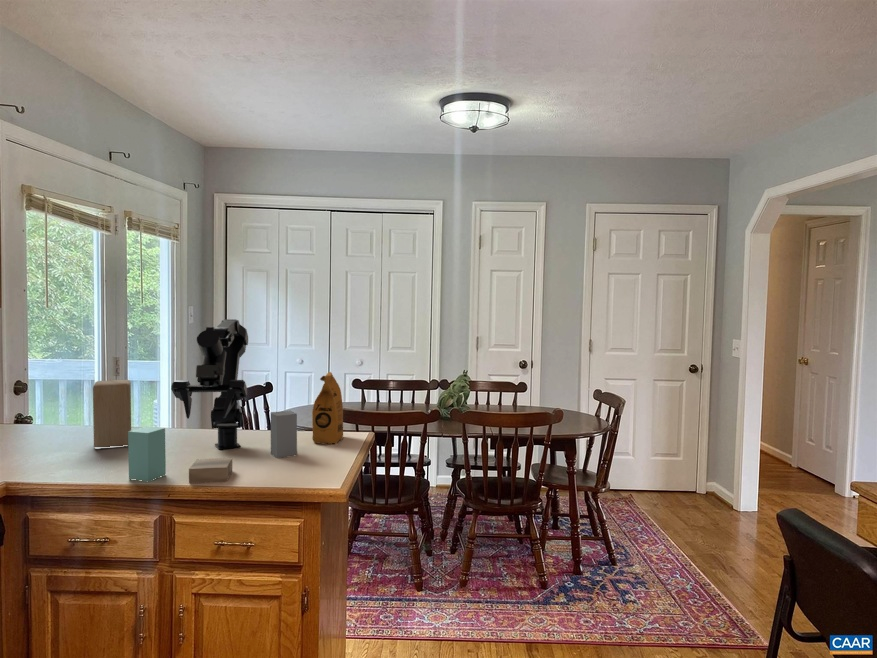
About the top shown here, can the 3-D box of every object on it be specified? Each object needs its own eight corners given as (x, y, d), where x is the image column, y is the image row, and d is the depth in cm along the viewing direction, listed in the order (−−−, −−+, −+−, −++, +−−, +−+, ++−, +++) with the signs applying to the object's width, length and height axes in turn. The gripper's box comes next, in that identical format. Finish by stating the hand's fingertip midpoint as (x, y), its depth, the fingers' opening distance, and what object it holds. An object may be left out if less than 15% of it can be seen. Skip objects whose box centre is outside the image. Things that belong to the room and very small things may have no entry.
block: (93, 450, 174) (92, 385, 173) (95, 443, 183) (94, 380, 182) (131, 447, 178) (130, 383, 178) (131, 440, 187) (130, 379, 186)
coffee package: (307, 444, 184) (307, 376, 183) (318, 435, 197) (318, 371, 196) (337, 445, 183) (337, 376, 182) (346, 436, 196) (346, 371, 195)
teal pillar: (146, 473, 152) (146, 426, 151) (165, 475, 150) (165, 428, 150) (128, 480, 146) (128, 431, 146) (148, 482, 145) (147, 433, 144)
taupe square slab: (196, 474, 153) (196, 459, 153) (232, 472, 154) (232, 457, 154) (188, 484, 144) (188, 469, 144) (226, 482, 146) (226, 467, 145)
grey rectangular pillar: (270, 453, 173) (270, 412, 172) (290, 450, 176) (290, 410, 175) (276, 458, 168) (276, 415, 167) (296, 455, 171) (296, 413, 170)
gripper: (171, 351, 153) (160, 404, 144) (244, 351, 156) (237, 403, 147) (181, 372, 162) (171, 423, 153) (249, 371, 165) (244, 421, 156)
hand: (205, 417), depth 152 cm, fingers open, 9 cm apart
